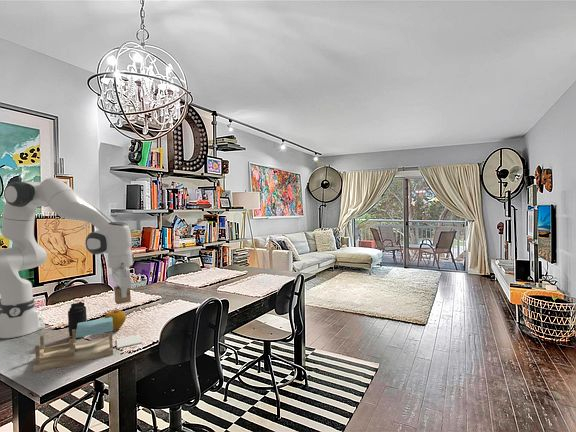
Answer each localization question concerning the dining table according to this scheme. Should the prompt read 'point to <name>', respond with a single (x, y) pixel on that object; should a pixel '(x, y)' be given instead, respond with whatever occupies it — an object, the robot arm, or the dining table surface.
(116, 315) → the apple
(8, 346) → the dining table surface
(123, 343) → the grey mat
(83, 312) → the black bottle
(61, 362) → the beige notched bar
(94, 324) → the sliding lid
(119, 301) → the walnut block
